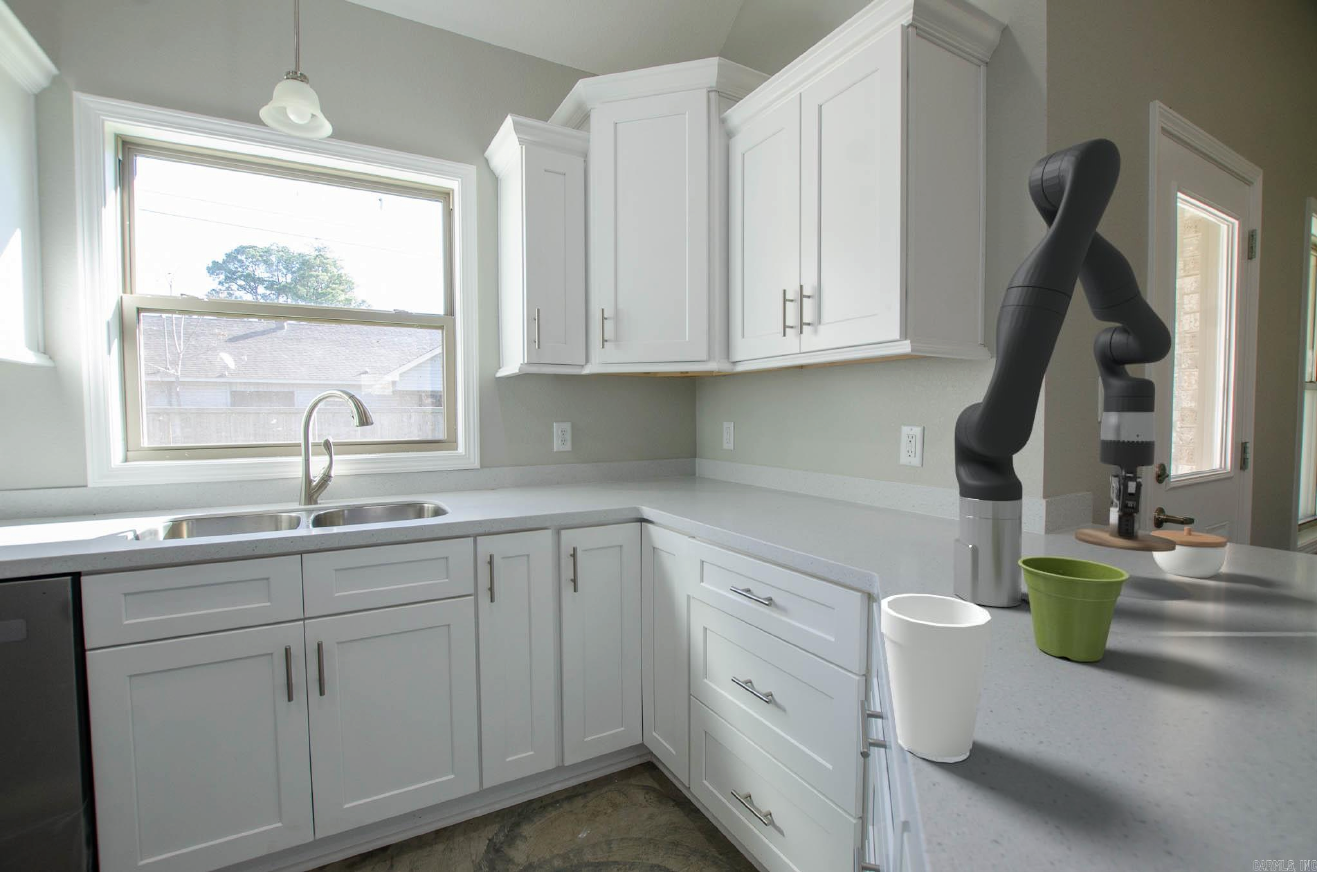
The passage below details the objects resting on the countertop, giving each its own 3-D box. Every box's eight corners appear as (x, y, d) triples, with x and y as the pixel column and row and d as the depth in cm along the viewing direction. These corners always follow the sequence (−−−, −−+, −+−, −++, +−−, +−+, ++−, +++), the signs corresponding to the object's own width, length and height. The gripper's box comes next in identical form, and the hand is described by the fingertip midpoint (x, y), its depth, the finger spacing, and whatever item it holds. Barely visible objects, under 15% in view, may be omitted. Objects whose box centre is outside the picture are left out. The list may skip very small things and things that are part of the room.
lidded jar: (1242, 585, 104) (1243, 533, 104) (1173, 582, 107) (1174, 531, 106) (1199, 570, 115) (1200, 522, 115) (1137, 567, 117) (1138, 521, 117)
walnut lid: (1112, 551, 97) (1114, 515, 97) (1057, 533, 111) (1058, 502, 110) (1198, 552, 96) (1200, 516, 96) (1132, 534, 110) (1133, 503, 110)
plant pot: (1096, 679, 69) (1097, 584, 68) (997, 645, 79) (998, 562, 79) (1147, 659, 74) (1148, 571, 74) (1048, 629, 84) (1049, 552, 84)
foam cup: (864, 720, 60) (864, 595, 59) (950, 715, 61) (951, 592, 60) (912, 777, 50) (912, 629, 50) (1013, 770, 51) (1014, 624, 51)
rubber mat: (1113, 603, 95) (1113, 600, 95) (1047, 575, 112) (1047, 572, 112) (1220, 603, 95) (1221, 600, 95) (1138, 575, 112) (1138, 572, 112)
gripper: (1163, 440, 95) (1159, 544, 96) (1146, 437, 107) (1142, 530, 108) (1106, 438, 99) (1102, 539, 99) (1095, 436, 111) (1092, 526, 112)
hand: (1123, 534), depth 104 cm, fingers closed on walnut lid, 4 cm apart
